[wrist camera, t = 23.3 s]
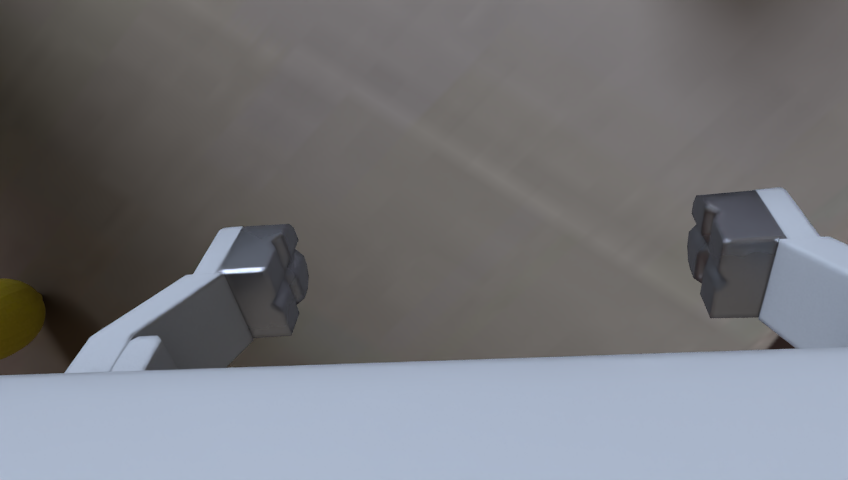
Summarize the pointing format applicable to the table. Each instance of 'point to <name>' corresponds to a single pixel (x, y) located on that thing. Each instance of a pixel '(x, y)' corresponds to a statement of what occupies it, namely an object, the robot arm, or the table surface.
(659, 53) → the table surface
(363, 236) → the table surface
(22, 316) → the lemon
